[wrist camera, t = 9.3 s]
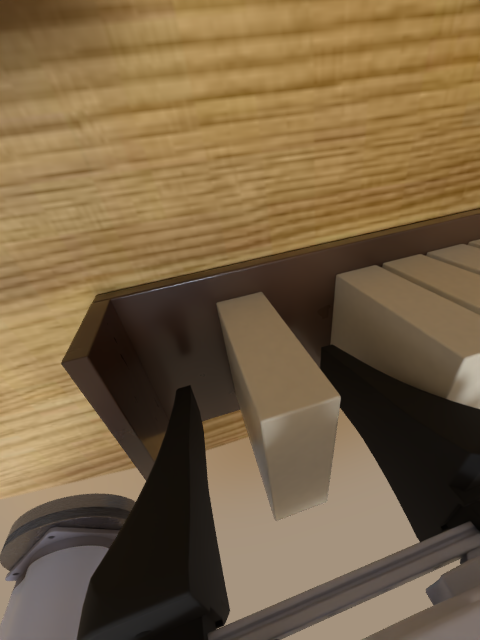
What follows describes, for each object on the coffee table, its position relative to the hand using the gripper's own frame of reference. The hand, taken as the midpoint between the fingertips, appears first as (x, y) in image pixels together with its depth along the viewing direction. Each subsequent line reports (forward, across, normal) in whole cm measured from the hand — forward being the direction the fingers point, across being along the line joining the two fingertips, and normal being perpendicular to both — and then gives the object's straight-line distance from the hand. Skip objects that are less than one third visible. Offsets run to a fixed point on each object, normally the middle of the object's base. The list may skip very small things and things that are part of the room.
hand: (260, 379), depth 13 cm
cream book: (+2, 0, 0) cm, 2 cm away
